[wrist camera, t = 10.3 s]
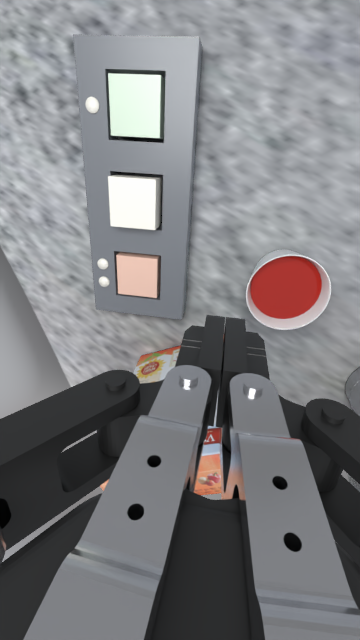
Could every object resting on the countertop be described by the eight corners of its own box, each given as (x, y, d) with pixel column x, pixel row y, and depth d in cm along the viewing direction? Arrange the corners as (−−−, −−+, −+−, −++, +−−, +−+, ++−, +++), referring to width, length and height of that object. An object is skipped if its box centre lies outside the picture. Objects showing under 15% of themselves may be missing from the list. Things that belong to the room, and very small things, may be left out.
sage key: (166, 81, 32) (160, 75, 30) (165, 139, 35) (159, 138, 32) (118, 79, 33) (108, 73, 30) (120, 136, 35) (110, 135, 33)
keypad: (202, 46, 31) (198, 36, 28) (184, 310, 45) (181, 320, 42) (86, 44, 32) (72, 33, 29) (103, 300, 46) (95, 309, 43)
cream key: (161, 177, 35) (155, 179, 33) (160, 224, 38) (155, 230, 35) (117, 174, 36) (107, 176, 33) (119, 221, 38) (110, 226, 36)
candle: (232, 260, 40) (232, 277, 35) (302, 226, 37) (314, 239, 32) (261, 316, 43) (264, 340, 38) (327, 290, 40) (342, 311, 35)
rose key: (162, 252, 41) (157, 259, 38) (161, 289, 43) (156, 298, 41) (123, 248, 42) (116, 255, 39) (125, 285, 44) (118, 293, 41)
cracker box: (155, 383, 52) (110, 508, 34) (140, 354, 50) (84, 470, 31) (237, 365, 48) (239, 497, 29) (225, 332, 45) (218, 452, 27)
